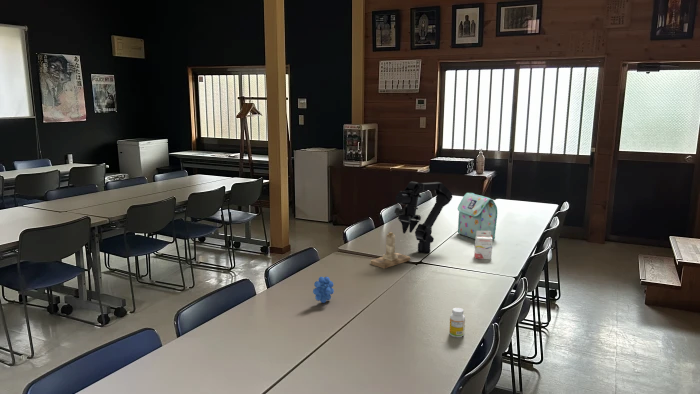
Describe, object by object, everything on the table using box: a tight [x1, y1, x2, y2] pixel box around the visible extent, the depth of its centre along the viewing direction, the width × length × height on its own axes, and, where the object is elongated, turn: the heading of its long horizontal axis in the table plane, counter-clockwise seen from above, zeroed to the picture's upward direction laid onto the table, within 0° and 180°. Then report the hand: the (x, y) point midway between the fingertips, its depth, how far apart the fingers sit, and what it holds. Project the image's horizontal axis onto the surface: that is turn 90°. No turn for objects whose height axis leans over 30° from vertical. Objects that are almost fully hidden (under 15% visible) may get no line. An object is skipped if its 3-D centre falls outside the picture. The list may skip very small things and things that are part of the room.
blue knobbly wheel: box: [312, 276, 335, 304], centre depth 214 cm, size 12×7×12 cm, turn 138°
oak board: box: [370, 252, 411, 269], centre depth 269 cm, size 20×10×2 cm, turn 132°
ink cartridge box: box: [473, 231, 494, 260], centre depth 275 cm, size 9×5×15 cm, turn 84°
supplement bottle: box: [449, 307, 466, 338], centre depth 186 cm, size 5×5×10 cm
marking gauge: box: [382, 232, 398, 261], centre depth 267 cm, size 5×6×14 cm
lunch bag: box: [457, 192, 498, 240], centre depth 317 cm, size 23×16×27 cm
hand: (407, 232), depth 277 cm, fingers open, 9 cm apart
